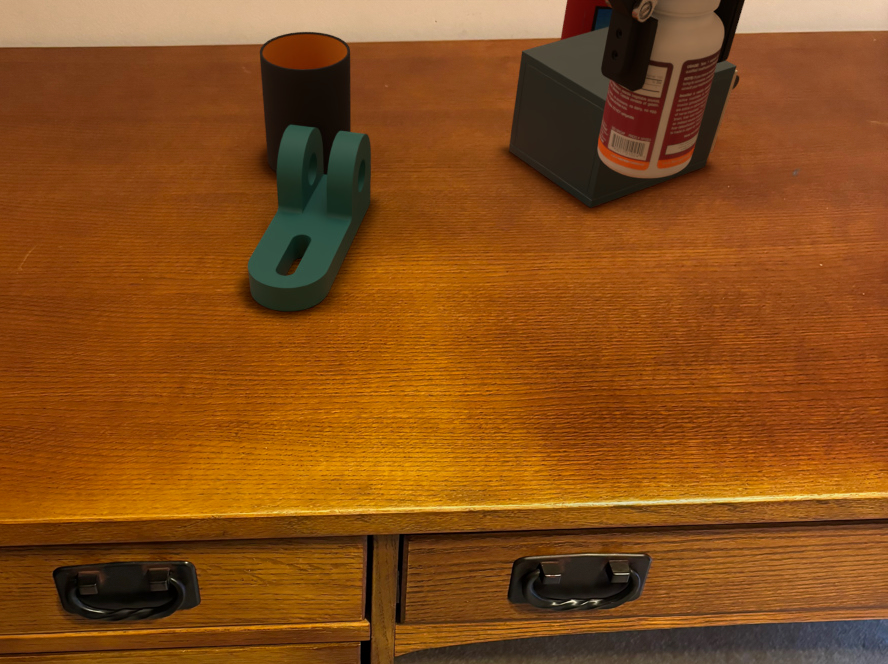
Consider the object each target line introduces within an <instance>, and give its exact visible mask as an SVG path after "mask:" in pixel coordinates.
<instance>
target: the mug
mask: <svg viewBox="0 0 888 664" xmlns="http://www.w3.org/2000/svg"><path fill="white" fill-rule="evenodd" d="M259 64H260V76H261V90H262V103H263V116H264V127H265V129H264V131H265V141H266V143H265V144H266V155H267V163H268V166H269V167H270V168H271V170H272V171H273V172H275V173H276V174H277V161H278V153H279V148H280V144H281V140H282V137H283V134H284V132H285V130H286V128H287V127H288V126H289V125H297V126H306V127H314V128H318V129H319V131H320V133H321V137H322V143H323V168H324V174H325V175H327V172H328V164H329V158H330V153H331V149H332V145H333V142H334V139H335V137H336V135H337V133H338V132H339V131H347V132H352V130H351V129H352V127H351V125H352V123H351V120H352V119H351V118H352V117H351V116H352V115H351V112H352V111H351V110H352V109H351V108H352V107H351V106H352V103H351V102H352V101H351V100H352V99H351V49H350V46H349V44H348V43H347V42H346V41H345V40H343V39H342V38H340V37H338V36H335V35H333V34H332V35H331V34H328V33H324V32H317V31H295V32H289V33H284V34H280V35H278V36H275V37H273V38H271V39H269V40H267V41H265V42H264V43H263V44H262V46H261V47H260V49H259Z"/></svg>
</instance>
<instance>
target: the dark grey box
mask: <svg viewBox="0 0 888 664" xmlns="http://www.w3.org/2000/svg"><path fill="white" fill-rule="evenodd" d="M608 29H609V27H606V28H603V29H599V30H595V31H592V32H588V33H585V34H581V35H577V36H574V37H570V38H567V39H563V40H561V39H560V40H556V41H552V42H550V43H545V44H542V45H538V46H535V47H532V48H528V49H523V50H522V51H521V56H520V62H519V63H520V64H519V71H518V77H517V78H518V79H517V86H516V92H515V93H516V94H515V100H514V108H513V115H512V124H511V129H510V130H511V131H510V138H509V146H508V151H509V152H510V153H511V154H513V155H514V156H516V157H517V158H519V159H520V160H522V162H524V163H525V164H528V166H530V167H531V168H533V169H534V170H535V171H537V172H539V173H540V174H541V175H542V176H544V177H545V178H547V179H548V180H550V181H551V182H553V183H554V184H555V185H557V186H558V187H560V188H561V189H563V190H564V191H565V192H567V193H568V194H570V195H571V196H572V197H574V198H575V199H577V200H578V201H580V203H582V204H584V205H585V206H586V207H588V208H589V209H593V208H595V207H597V206H600V205H604V204H606V203H609V202H611V201H614V200H617V199H620V198H623V197H625V196H627V195H631V194H633V193H636V192H639V191H642V190H644V189H648V188H651V187H653V186H655V185H658V184H662V183H664V182H667V181H670V180H673V179H675V178H679V177H680V176H684V175H686V174H687V175H688V174H689V173H692V172H694V171H698V170H700V169H703V168H705V167H706V165H707V162H708V159H709V155H710V154H711V153H710V150H711V147H712V143H713V140H714V137H715V134H716V131H717V127H718V124H719V121H720V118H721V114H722V111H723V108H724V105H725V102H726V98H727V95H728V92H729V89H730V85H731V82H732V79H733V76H734V73H735V70H737V65H736V64H734V63H732V62H730V61H728V60H726V61H723V62H720V63H717V65H716V69H715V73H714V76H713V80H712V84H711V87H710V91H709V95H708V98H707V102H706V106H705V110H704V113H703V117H702V121H701V125H700V128H699V132H698V136H697V139H696V144H695V147H694V151H693V154H692V157H691V160H690V162H689V163H688V165H687V166H686V167H685V168H684V169H682V170H681V171H679V172H677V173H675V174H673V175H669V176H665V177H660V178H635V177H630V176H626V175H623V174H621V173H618V172H616V171H614V170H612V169H611V168H609V167H608V166H607V165H605V164H604V163H603V161H602V160H601V159H600V157H599V154H598V139H599V134H600V129H601V124H602V119H603V113H604V108H605V103H606V98H607V93H608V87H609V82H610V79H608V78H607V77H605V76H603V74H602V72H601V66H602V60H603V55H604V50H605V45H606V39H607V34H608Z"/></svg>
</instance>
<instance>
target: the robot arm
mask: <svg viewBox="0 0 888 664" xmlns="http://www.w3.org/2000/svg"><path fill="white" fill-rule="evenodd" d="M745 1H746V0H720V3H719V6H718V8H717V9H716V10H714V11H713V12H714V13H715V14H716V15H717V16H718V17H719V18H720V19H721V21H722V23H723V26H724V39H723V43H722V47H721V51H720V54H719V58H718V62H717V63H720V62H723V61H728V58H729V56H730V53H731V49H732V46H733V43H734V39H735V36H736V32H737V29H738V25H739V21H740V19H741V15H742V11H743V8H744V4H745V3H746V2H745ZM657 2H658V0H605V3H606V5H607V6H609V7H611V8H612V13H611V19H610V24H609V29H608V34H607V39H606V45H605V50H604V55H603V60H602V66H601V72H602V74H603V76H605V77H607V78H608V79H610V80H612V81H614V82H616V83H617V84H619V85H621V86H623V87H625V88H626V89H628V90H630V91H632V92H633V91H637V90H640V89H641V88H642V87H643V85H644V83H645V79H646V75H647V71H648V66H649V62H650V58H651V53H652V49H653V45H654V40H655V36H656V31H657V27H658V20H657V19H655V18H653V17H651V14H652V13H653V10H654V8H655V6H656V4H657Z"/></svg>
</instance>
